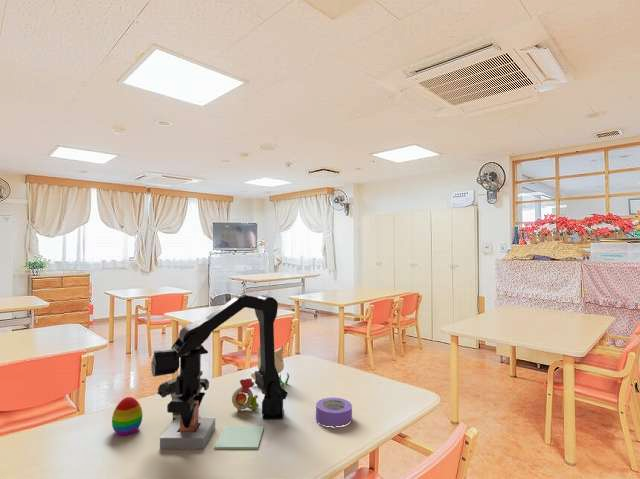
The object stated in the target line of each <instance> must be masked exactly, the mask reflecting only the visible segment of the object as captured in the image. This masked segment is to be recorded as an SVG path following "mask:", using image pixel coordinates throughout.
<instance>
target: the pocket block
mask: <svg viewBox="0 0 640 479" xmlns="http://www.w3.org/2000/svg"><path fill="white" fill-rule="evenodd" d="M172 421H173V422H171V423H170V425H169V426H168V427H167V429H166V430H165V431H164V433H162V435H161V436H160V437H159V450H204V449H205V447H206V445H207V443H208V442H209V439H210V438H211V436H212V435H213V433H214V431H215V429H216V417H198V429H197V431H196V432H180V418H176V419H175V420H172Z"/></svg>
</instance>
